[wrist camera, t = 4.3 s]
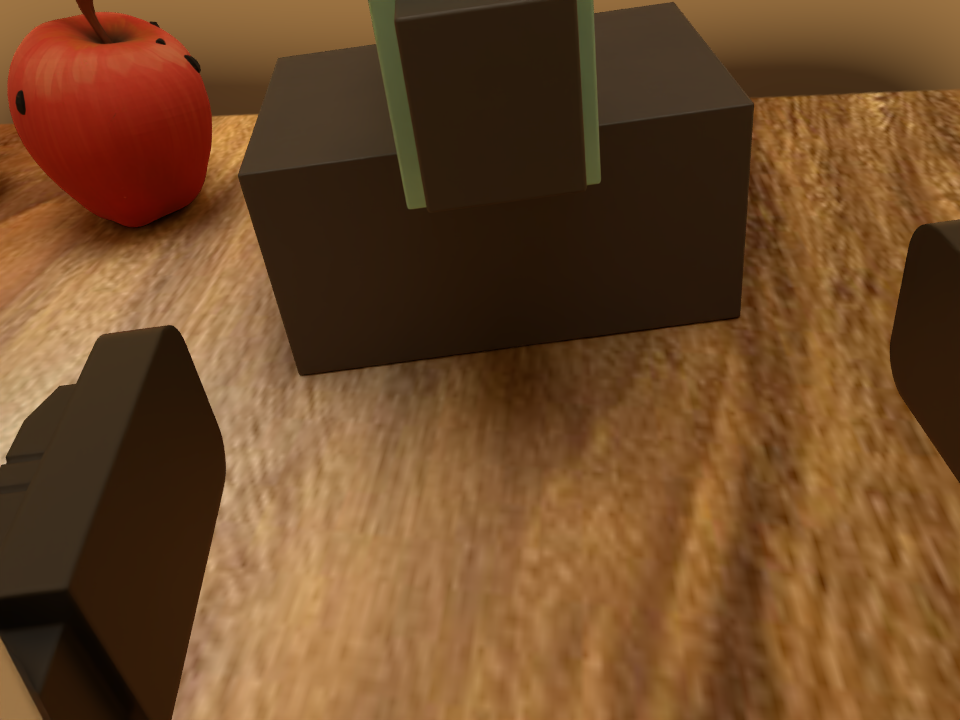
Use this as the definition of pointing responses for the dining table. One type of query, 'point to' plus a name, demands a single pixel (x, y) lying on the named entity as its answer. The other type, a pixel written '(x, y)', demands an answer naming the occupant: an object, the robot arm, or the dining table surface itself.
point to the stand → (502, 211)
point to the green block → (490, 98)
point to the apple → (113, 113)
